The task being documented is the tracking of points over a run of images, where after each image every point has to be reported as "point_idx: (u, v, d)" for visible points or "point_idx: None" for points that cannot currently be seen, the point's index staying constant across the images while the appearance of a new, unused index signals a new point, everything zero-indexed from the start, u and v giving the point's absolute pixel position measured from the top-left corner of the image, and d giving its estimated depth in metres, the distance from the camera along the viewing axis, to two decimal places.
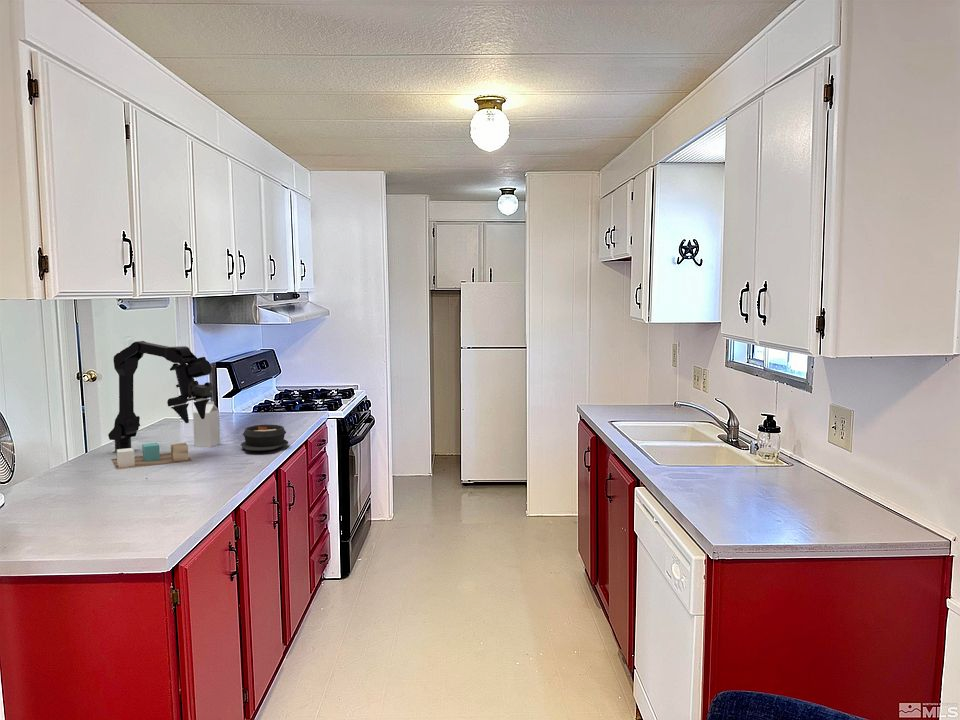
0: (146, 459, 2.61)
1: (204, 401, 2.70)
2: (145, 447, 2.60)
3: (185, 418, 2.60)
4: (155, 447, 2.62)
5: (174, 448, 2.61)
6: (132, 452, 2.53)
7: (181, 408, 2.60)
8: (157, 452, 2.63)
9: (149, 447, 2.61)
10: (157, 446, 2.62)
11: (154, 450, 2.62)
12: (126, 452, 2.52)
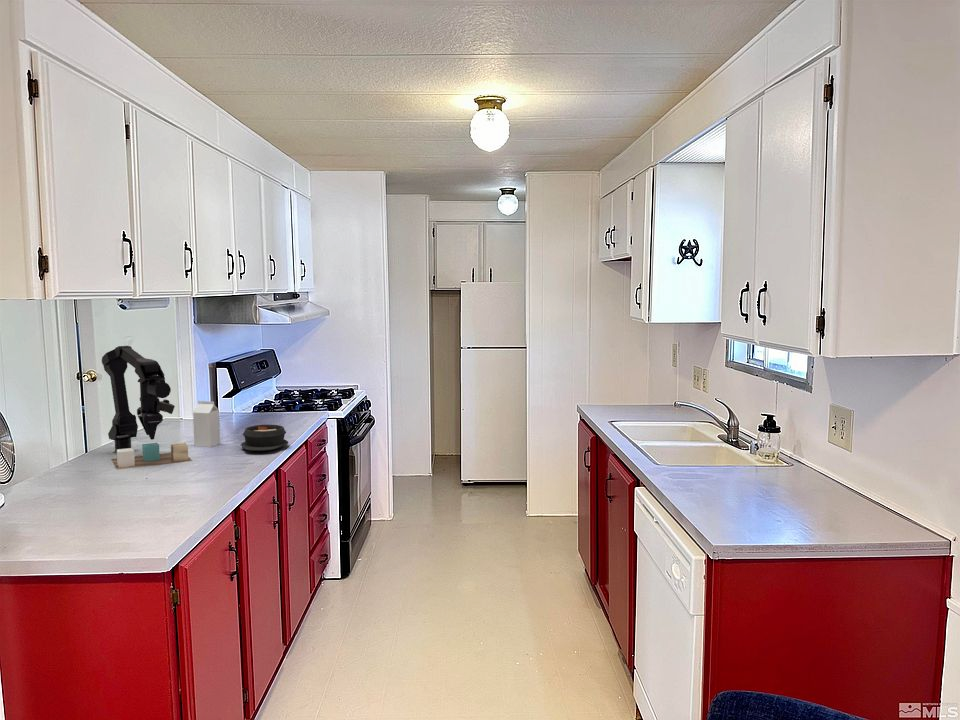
0: (146, 459, 2.61)
1: None
2: (145, 447, 2.60)
3: (153, 434, 2.59)
4: (155, 447, 2.62)
5: (174, 448, 2.61)
6: (132, 452, 2.53)
7: (151, 424, 2.58)
8: (157, 452, 2.63)
9: (149, 447, 2.61)
10: (157, 446, 2.62)
11: (154, 450, 2.62)
12: (126, 452, 2.52)
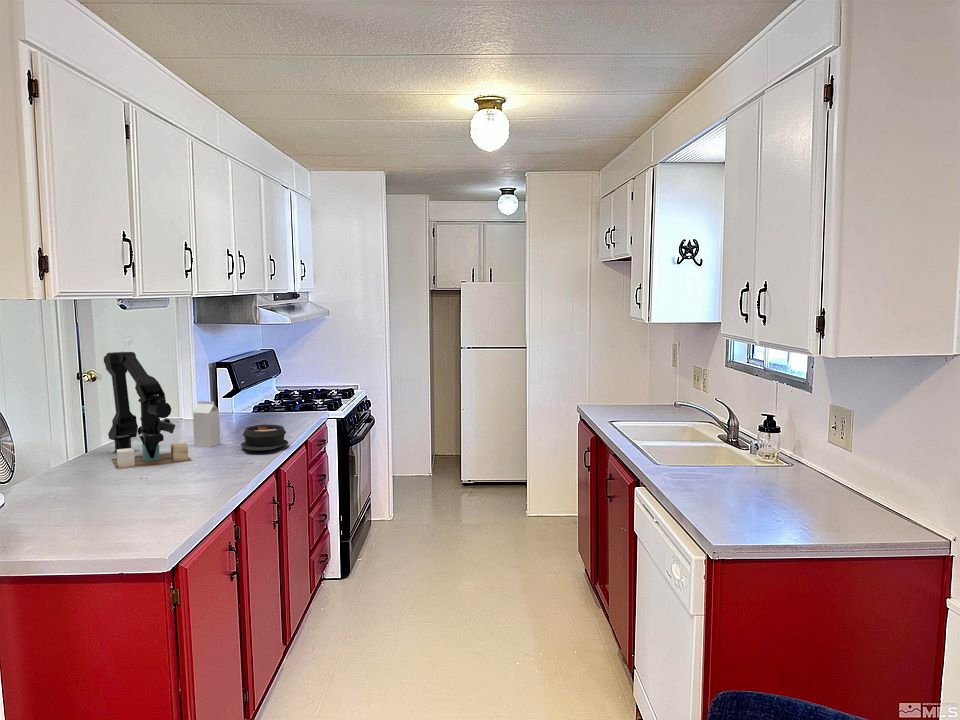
0: (146, 459, 2.61)
1: None
2: (145, 447, 2.60)
3: (153, 453, 2.61)
4: None
5: (174, 448, 2.61)
6: (132, 452, 2.53)
7: (151, 443, 2.60)
8: (157, 452, 2.63)
9: None
10: (157, 446, 2.62)
11: None
12: (126, 452, 2.52)
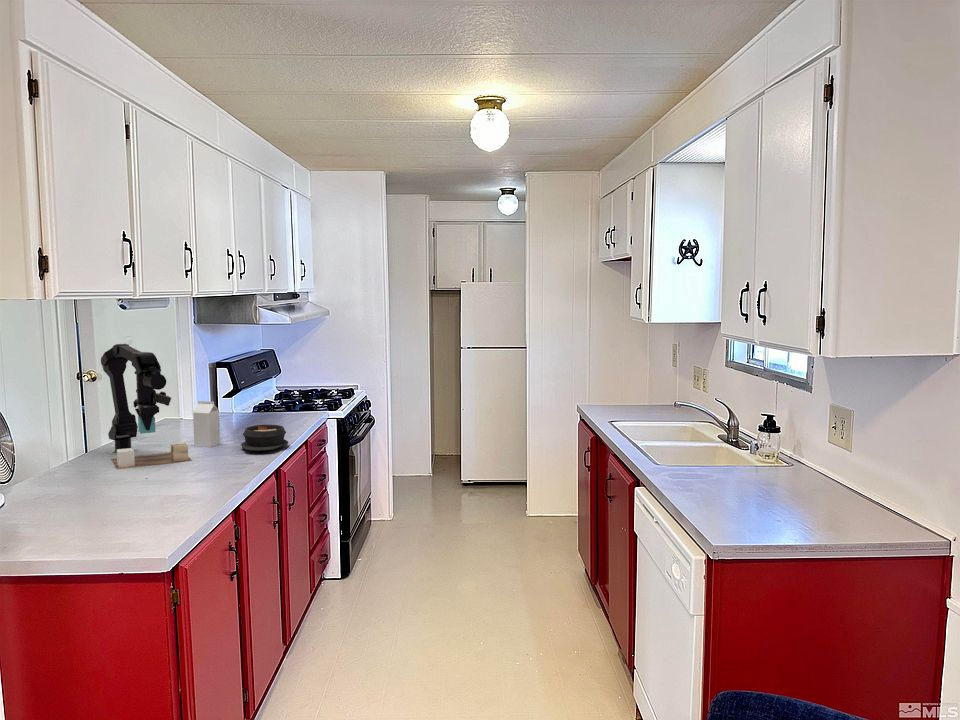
0: (142, 431, 2.60)
1: None
2: None
3: (148, 425, 2.60)
4: None
5: (174, 448, 2.61)
6: (132, 452, 2.53)
7: (147, 415, 2.59)
8: (153, 424, 2.62)
9: None
10: (153, 418, 2.62)
11: None
12: (126, 452, 2.52)
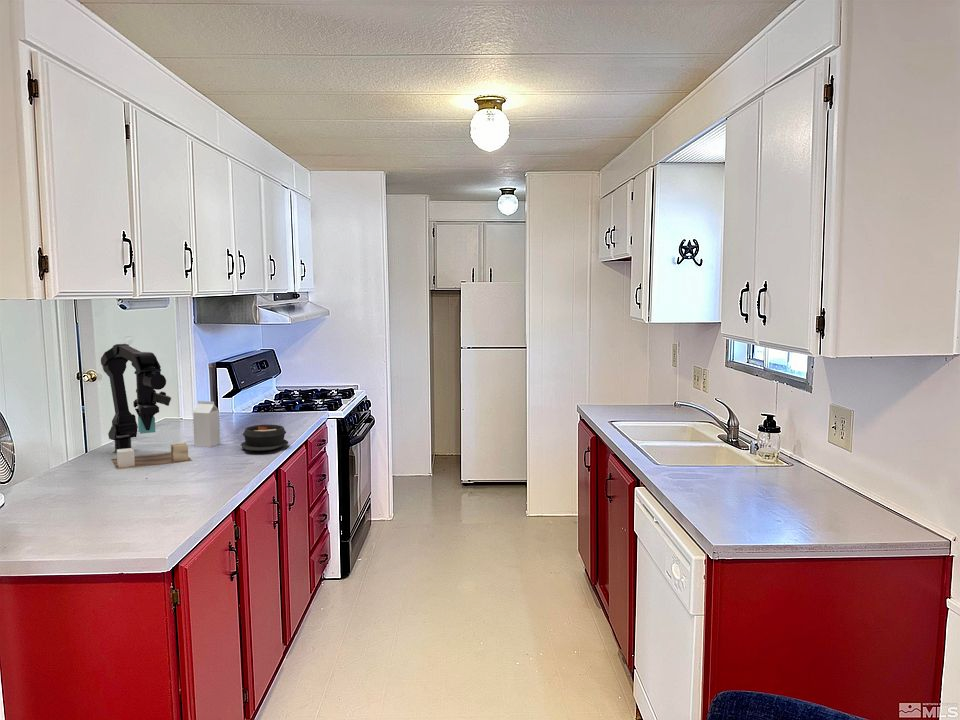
0: (142, 431, 2.60)
1: None
2: None
3: (148, 425, 2.60)
4: None
5: (174, 448, 2.61)
6: (132, 452, 2.53)
7: (147, 415, 2.59)
8: (153, 424, 2.62)
9: None
10: (153, 418, 2.62)
11: None
12: (126, 452, 2.52)
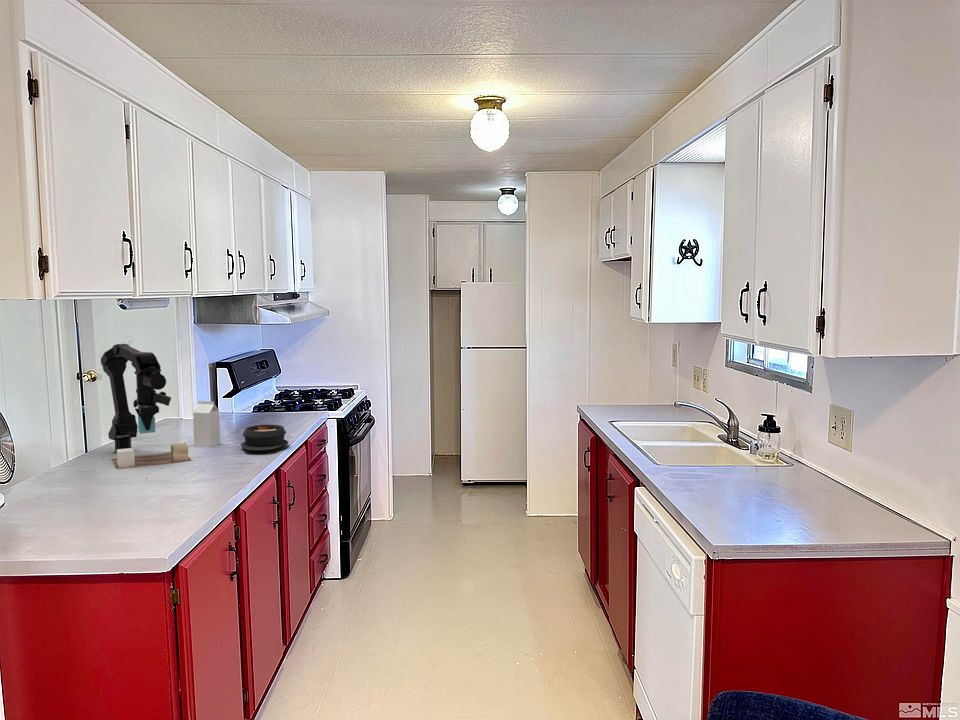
0: (142, 431, 2.60)
1: None
2: None
3: (148, 425, 2.60)
4: None
5: (174, 448, 2.61)
6: (132, 452, 2.53)
7: (147, 415, 2.59)
8: (153, 424, 2.62)
9: None
10: (153, 418, 2.62)
11: None
12: (126, 452, 2.52)
